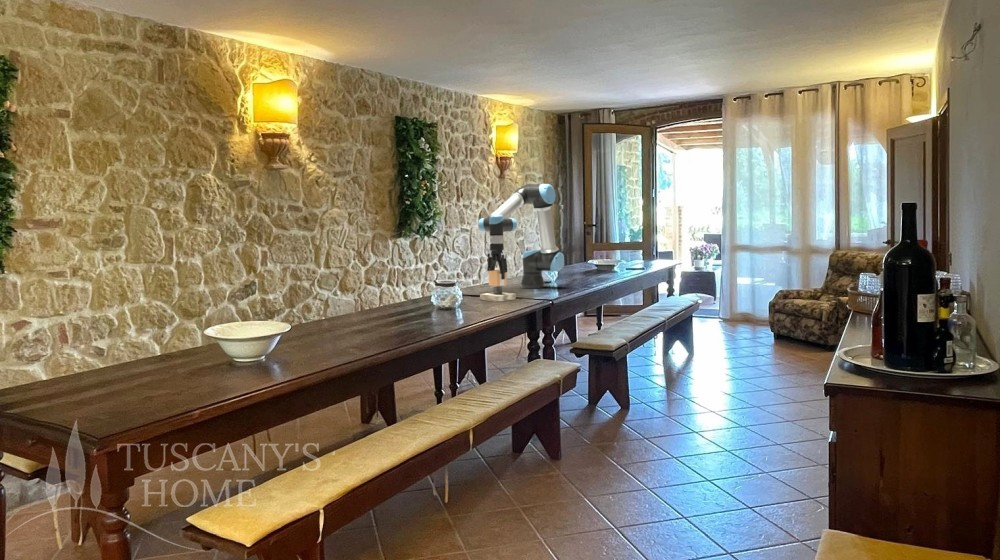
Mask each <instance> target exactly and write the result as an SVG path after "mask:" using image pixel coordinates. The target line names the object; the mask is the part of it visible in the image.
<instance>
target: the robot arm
mask: <svg viewBox="0 0 1000 560" xmlns="http://www.w3.org/2000/svg"><path fill="white" fill-rule="evenodd" d="M556 198H557V195H556V190H555V189H554V187H553V186H552V184H550V183H534V184H524V185H522V186H521V187H518V188H517V189H516V190H515V191H513V192H512V193H511V194H510V195H509V198H508V199H507V200H505V202H503V203H502V204H501V205H500V206H499V207H497V209H496V210H494V211H493V212H492V213H490V214H489V216H487V217H483V218H482V217H481V218H480V219H479V220H478V223H477V226H478V229H479V230H480V231H481V232H489V243H490V244H489V250H490V251H491V252H490V253H487V267H486V270H487V272H489V271H493V270H496V265H497V264H498V268H499V269H498V270H500V272H501V273H500V286H501V287H503V286H502V285H504V279H505V273H508V263H507V254H504V253H503V251H504V249H505V248H504V247H505V246H504V233H505V232H506V233H507V232H514V231H515V230H516V229H517V225H518V222H517V220H516V219H515V218H513V217H509V216H510V215H511V214H512V213H514V212H515V211H516V210H517V209H518V208H521V207H523V206H524V205H532V206H533V209H534V210H536V215H537V221H538V229H539V230H538V231H539V237H540V242H541V249H535V250H528V251H524V252H523V253H522V268H523V269H522V279H521V282H520V288H522V289H544V288H545V286H546V283H545V282H544V281H545V280H544V277H543V272H550V273H551V272H553V273H555V272H559V271H561V270H562V268H563V266H564V264H565V257H564V254H563V253H562V252H560V248H559V247H558V246H557V244H556V236H555V230H554V229H555V227H554V223H553V214H552V207H553V205H554V203H555V201H556ZM504 286H505V285H504Z"/></svg>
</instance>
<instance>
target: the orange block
mask: <svg viewBox="0 0 1000 560" xmlns="http://www.w3.org/2000/svg"><path fill="white" fill-rule="evenodd" d="M500 273H501V272H500V269H495V270H493V271H488V285H489V286H493V287H498V286H500ZM507 273H508V272H506V273H505V279H504V285H502V286H501V287H503V286H507V284H508V283H507V282H508V281H507V280H508V278H507V277H508V275H507Z"/></svg>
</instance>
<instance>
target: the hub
mask: <svg viewBox="0 0 1000 560" xmlns="http://www.w3.org/2000/svg"><path fill="white" fill-rule="evenodd" d="M479 299H480V300H481V301H489V302H495V303H500V302H505V301H512V300H517V294H516V293H514V292H513V293H512V292H504V291H503V286H493V292H488V293H487V292H486V293H480V294H479Z"/></svg>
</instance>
